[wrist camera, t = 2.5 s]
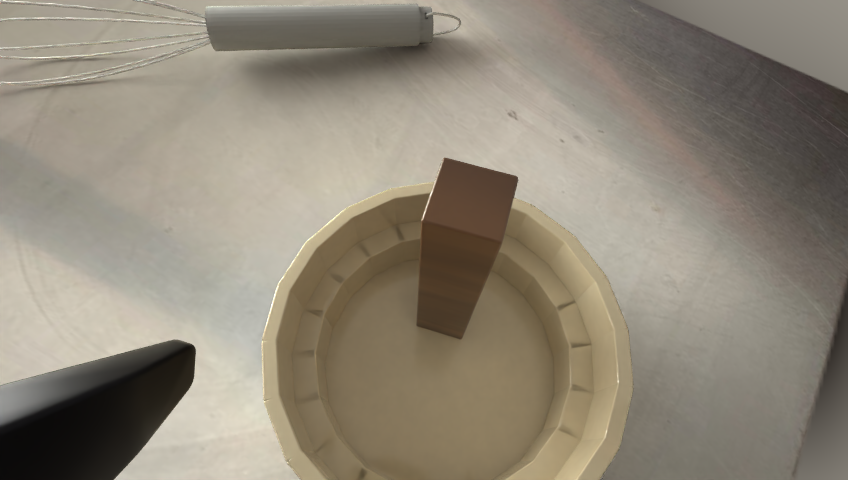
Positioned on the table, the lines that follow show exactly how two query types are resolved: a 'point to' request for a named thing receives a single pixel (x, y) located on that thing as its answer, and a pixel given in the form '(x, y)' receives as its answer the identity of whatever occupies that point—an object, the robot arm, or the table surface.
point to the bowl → (444, 356)
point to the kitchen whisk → (269, 29)
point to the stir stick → (460, 242)
